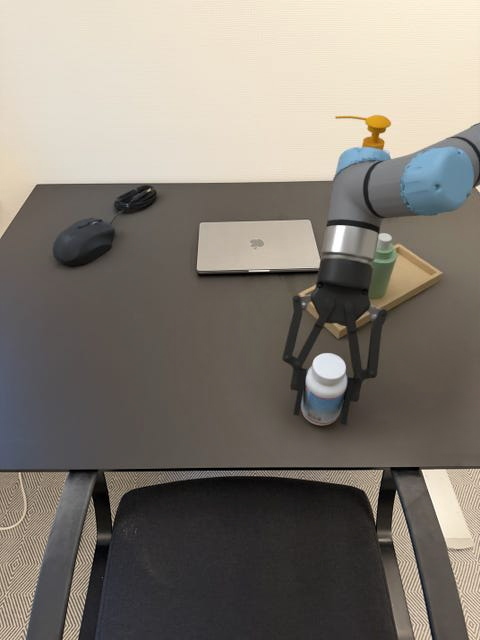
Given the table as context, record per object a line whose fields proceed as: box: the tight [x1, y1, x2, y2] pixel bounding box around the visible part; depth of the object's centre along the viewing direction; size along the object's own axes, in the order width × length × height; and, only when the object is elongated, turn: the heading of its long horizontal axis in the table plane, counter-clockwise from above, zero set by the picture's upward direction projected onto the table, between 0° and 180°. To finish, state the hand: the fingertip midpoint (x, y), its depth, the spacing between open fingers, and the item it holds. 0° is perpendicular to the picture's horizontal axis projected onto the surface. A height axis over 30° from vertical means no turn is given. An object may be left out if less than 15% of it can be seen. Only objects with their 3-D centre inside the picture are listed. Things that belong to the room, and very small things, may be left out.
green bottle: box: [368, 232, 397, 299], centre depth 88 cm, size 6×6×12 cm
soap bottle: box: [334, 114, 392, 156], centre depth 106 cm, size 10×14×22 cm
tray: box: [298, 243, 443, 340], centre depth 92 cm, size 28×12×2 cm, turn 124°
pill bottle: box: [300, 352, 348, 427], centre depth 69 cm, size 6×6×11 cm
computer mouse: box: [52, 184, 158, 266], centre depth 106 cm, size 10×32×6 cm, turn 154°
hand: (319, 417), depth 68 cm, fingers closed on pill bottle, 6 cm apart
